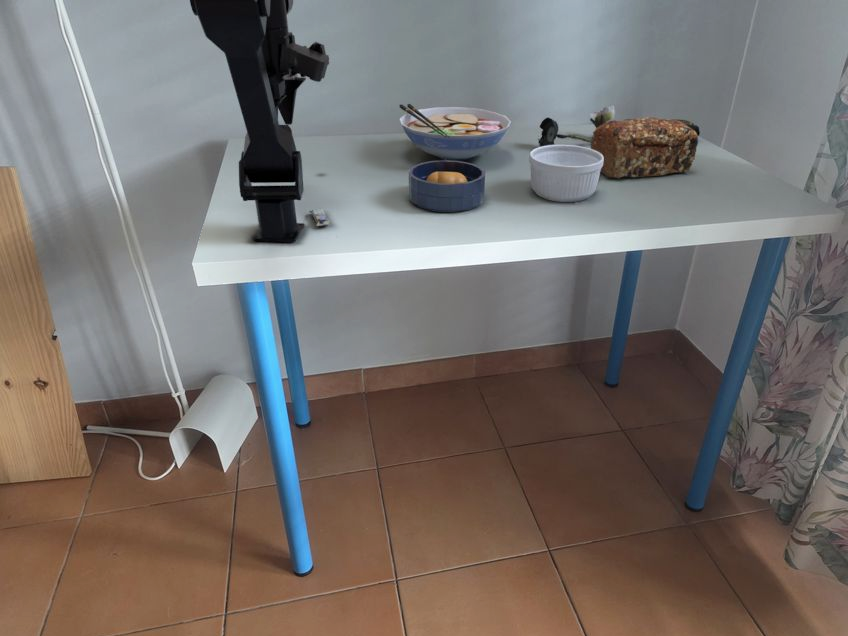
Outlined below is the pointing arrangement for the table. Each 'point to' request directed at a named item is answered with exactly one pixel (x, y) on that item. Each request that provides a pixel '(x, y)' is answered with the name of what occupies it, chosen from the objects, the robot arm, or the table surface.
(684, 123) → the tape measure
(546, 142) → the artificial flower
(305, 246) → the table surface
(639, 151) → the bread
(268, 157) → the robot arm
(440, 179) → the croissant
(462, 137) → the ramen bowl
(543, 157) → the ramekin
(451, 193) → the bowl
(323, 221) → the granola bar
